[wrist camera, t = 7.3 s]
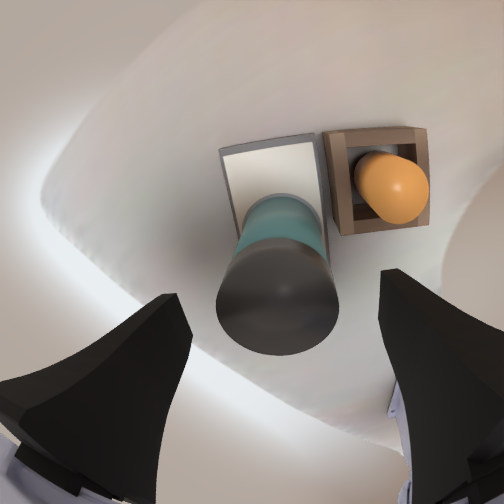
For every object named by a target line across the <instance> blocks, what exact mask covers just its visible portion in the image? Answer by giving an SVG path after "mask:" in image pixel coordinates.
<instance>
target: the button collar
mask: <svg viewBox="0 0 504 504" xmlns="http://www.w3.org/2000/svg"><path fill="white" fill-rule="evenodd" d="M322 134H323V140H324V146H325V153H326V160H327V167H328V175H329V183H330V191H331V200H332V209H333V219H334V221H335V224H336V226H337V228H338V231H339V233H340V235H341V236H344V235H352V234H360V233H368V232H376V231H384V230H393V229H401V228H409V227H417V226H425V225H429V214H430V174H429V153H428V140H427V129H423V128H416V127H407V126H405V127H378V128H361V129H348V130H337V131H327V132H322ZM387 144H398V149H399V157H401V158H404V159H406V160H409V161H411V162H413V163H415V164H416V165H418V166H419V167H420V168H421V169H422V171H423V172H424V174H425V176H426V178H427V181H428V185H429V195H428V200H427V203H426V205H425V207H424V209H423V211H422V212H421V213H420V214H419V215H418V216H417V217H416V218H415V219H413V220H412V221H410V222H407V223H404V224H393V223H389V222H387V221H385V220H383V219H382V218H381V217H380V216H379V215H378V214H377V213H376V212H375V211H374V210H373V209H372V208H371V206H370V205H369V204H368V203H366V204H357V205H352V195H351V184H350V175H349V166H348V157H347V150H346V148H347V147H358V146H371V145H387Z"/></svg>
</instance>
